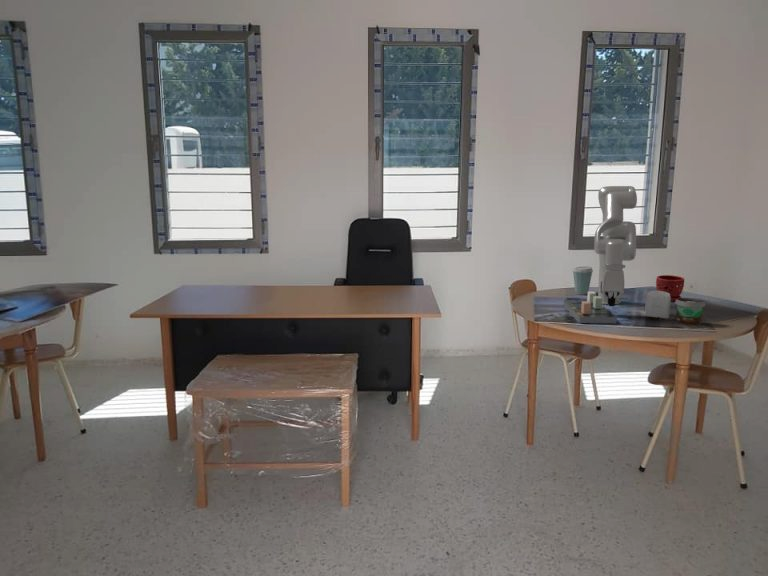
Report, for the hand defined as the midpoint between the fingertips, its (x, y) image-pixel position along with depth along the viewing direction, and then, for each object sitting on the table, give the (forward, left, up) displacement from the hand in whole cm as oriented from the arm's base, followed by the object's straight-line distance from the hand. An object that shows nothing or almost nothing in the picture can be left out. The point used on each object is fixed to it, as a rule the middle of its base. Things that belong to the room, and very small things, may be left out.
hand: (611, 305), depth 270 cm
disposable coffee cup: (+2, -48, -4) cm, 48 cm away
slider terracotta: (+14, +11, -1) cm, 18 cm away
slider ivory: (+6, -11, -1) cm, 13 cm away
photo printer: (-20, +4, -5) cm, 21 cm away
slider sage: (+6, 0, -1) cm, 6 cm away
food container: (-30, +15, -5) cm, 34 cm away
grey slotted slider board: (+10, 0, -4) cm, 11 cm away
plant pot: (-39, -33, -5) cm, 51 cm away
